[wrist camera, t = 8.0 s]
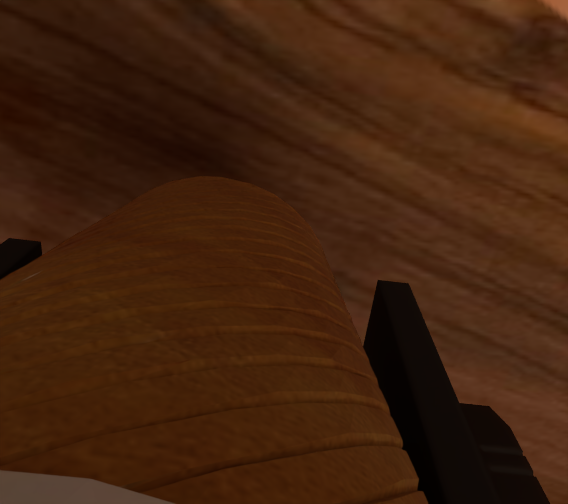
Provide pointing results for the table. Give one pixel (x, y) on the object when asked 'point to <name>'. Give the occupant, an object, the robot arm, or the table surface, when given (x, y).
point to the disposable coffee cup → (191, 364)
